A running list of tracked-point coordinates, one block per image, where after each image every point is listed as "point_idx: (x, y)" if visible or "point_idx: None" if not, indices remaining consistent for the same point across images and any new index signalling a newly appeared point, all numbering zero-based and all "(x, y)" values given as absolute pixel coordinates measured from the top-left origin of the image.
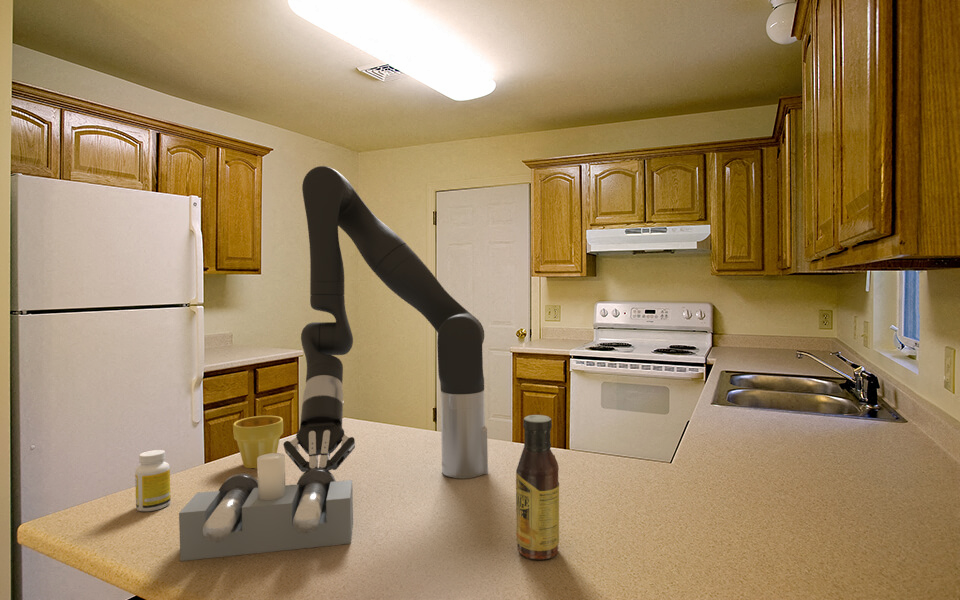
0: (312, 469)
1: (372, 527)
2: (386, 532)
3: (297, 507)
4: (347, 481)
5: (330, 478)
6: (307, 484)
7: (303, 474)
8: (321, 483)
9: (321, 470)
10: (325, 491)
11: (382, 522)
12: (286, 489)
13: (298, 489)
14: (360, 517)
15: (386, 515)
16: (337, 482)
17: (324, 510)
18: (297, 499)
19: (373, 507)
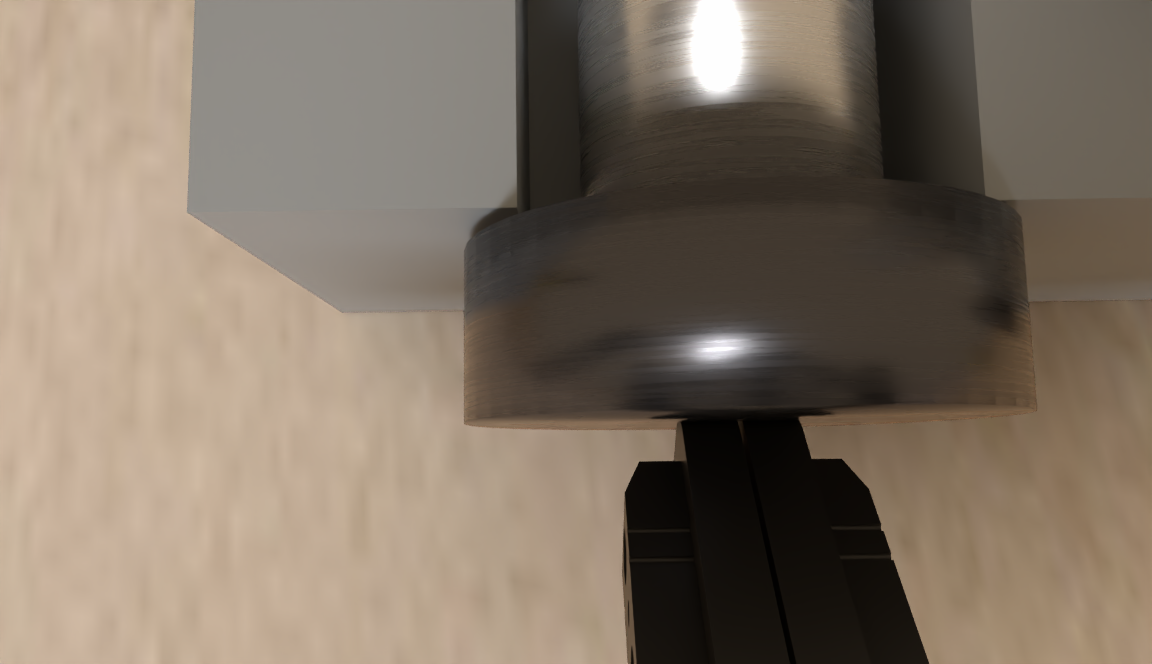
0: (858, 334)
1: (170, 155)
2: (55, 33)
3: (885, 91)
4: (259, 163)
5: (517, 216)
6: (855, 164)
7: (988, 303)
8: (648, 155)
9: (680, 271)
10: (582, 123)
11: (76, 240)
12: (1124, 22)
13: (959, 137)
14: (276, 396)
15: (28, 389)
16: (409, 152)
17: None
18: (916, 73)
19: (144, 621)
